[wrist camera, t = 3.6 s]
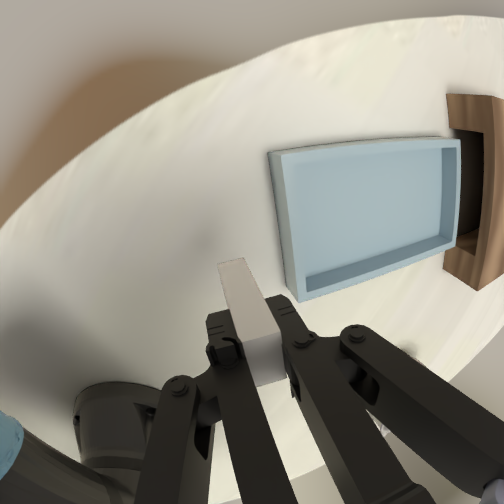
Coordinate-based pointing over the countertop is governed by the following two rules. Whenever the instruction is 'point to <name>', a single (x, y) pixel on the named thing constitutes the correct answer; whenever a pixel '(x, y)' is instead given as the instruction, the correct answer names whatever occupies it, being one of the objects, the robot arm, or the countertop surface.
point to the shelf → (494, 193)
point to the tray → (363, 208)
